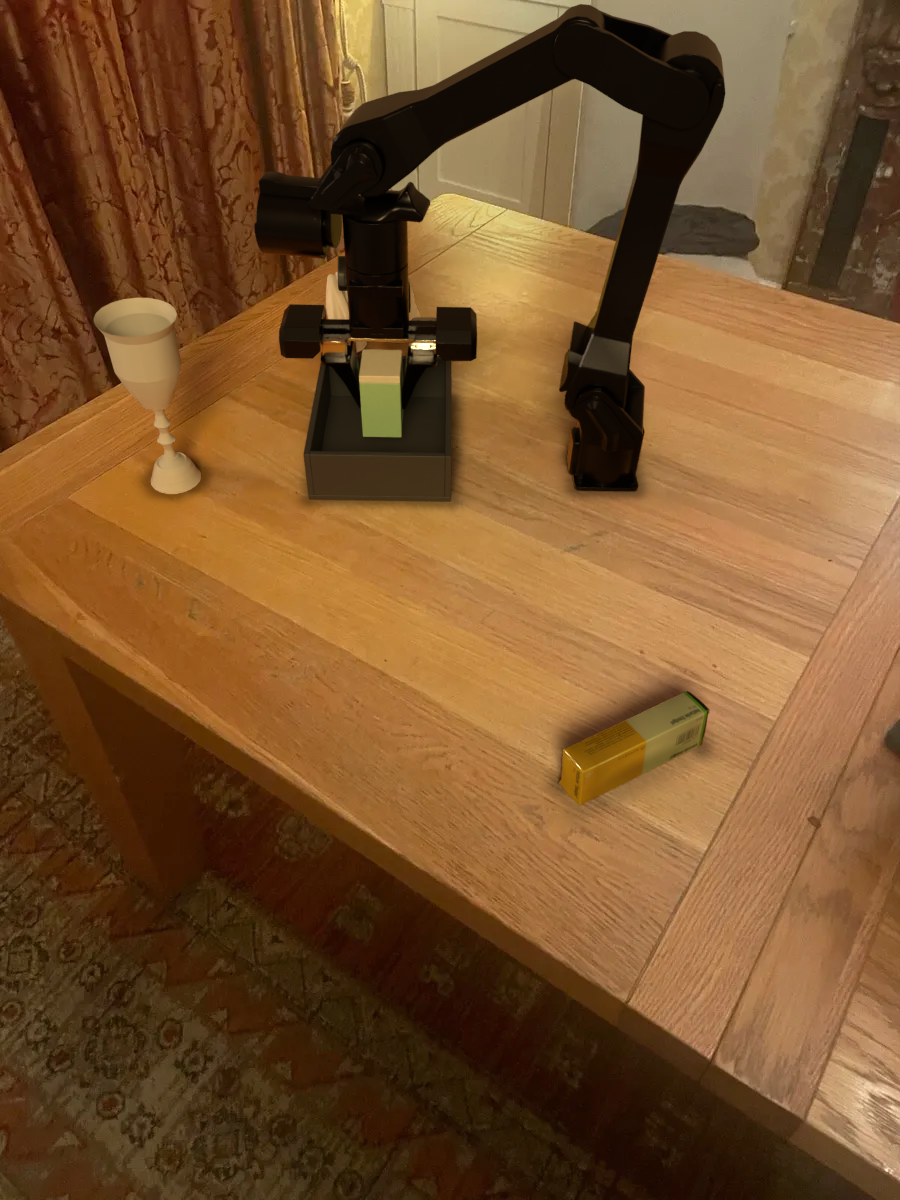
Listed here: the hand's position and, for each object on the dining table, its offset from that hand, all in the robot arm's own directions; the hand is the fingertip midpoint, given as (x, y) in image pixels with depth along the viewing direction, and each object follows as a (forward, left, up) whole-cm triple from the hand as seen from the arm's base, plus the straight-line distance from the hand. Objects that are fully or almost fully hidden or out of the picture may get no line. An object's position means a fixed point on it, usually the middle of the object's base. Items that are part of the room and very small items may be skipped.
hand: (383, 406), depth 94 cm
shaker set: (+2, -21, -5) cm, 22 cm away
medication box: (-21, +40, -5) cm, 45 cm away
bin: (0, 0, -5) cm, 5 cm away
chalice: (+21, +6, -5) cm, 22 cm away
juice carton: (0, 0, -2) cm, 2 cm away
